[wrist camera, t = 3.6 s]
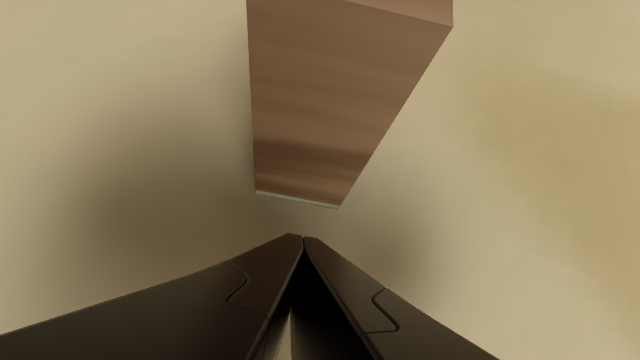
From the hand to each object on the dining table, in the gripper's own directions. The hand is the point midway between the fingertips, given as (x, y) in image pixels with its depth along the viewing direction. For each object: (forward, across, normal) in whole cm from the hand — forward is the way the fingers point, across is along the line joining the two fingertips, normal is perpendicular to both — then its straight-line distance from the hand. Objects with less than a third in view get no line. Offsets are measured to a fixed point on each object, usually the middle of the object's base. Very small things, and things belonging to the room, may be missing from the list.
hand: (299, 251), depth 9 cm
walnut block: (+13, 0, -2) cm, 13 cm away
